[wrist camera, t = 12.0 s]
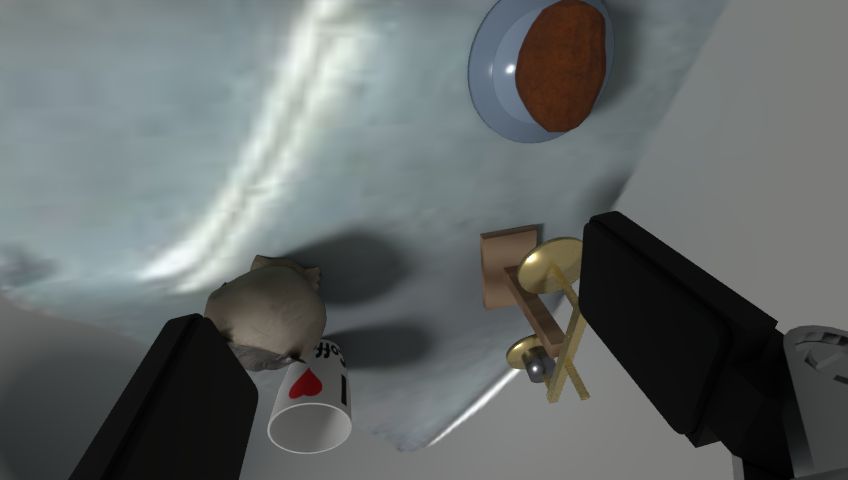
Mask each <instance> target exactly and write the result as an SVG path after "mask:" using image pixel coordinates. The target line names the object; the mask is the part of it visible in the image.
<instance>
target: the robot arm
mask: <svg viewBox="0 0 848 480" xmlns="http://www.w3.org/2000/svg"><path fill="white" fill-rule="evenodd" d="M578 306H579V310H580V312H581V315H582V316H583V318H584V319H585V320H586V321H587V323H588V324H589V325H590V326H591V328H592V329H593V330H594V331H595V332H596V334H597V335H598V336H599V337H600V339H601V340H602V341H603V343H604V344H605V345H606V346H607V348H608V349H609V350H610V351H611V353H612V354H613V355H614V356H615V358H616V359H617V360H618V361H619V363H620V364H621V365H622V366H623V368H624V369H625V370H626V371H627V372H628V374H629V375H630V376H631V378H632V379H633V380H634V381H635V383H636V384H637V385H638V386H639V388H640V389H641V390H642V391H643V392H644V393H645V395H646V396H647V398H648V399H649V400H650V401H651V403H652V404H653V405H654V406H655V407H656V409H657V410H658V411H659V412H660V414H661V415H662V416H663V418H664V419H665V420H666V421H667V423H668V424H669V425H670V426H671V427H672V428H673V430H675V431H676V432H677V433H679V434H685V436H686V437H687V438H688V439H689V441H690V442H691V443H692V444H693V445H694V446H695V448H697V447H701V446H704V445H708V444H711V443H715V442H718V441H721V442H722V443H723V444H724V445H725V446H726V447H727V449H728V450H729V451H730V452H731V454H732V465H733V475H734V480H848V331H844V330H840V329H836V328H833V327H826V326H817V325H816V326H815V325H811V326H799V327H796V328H794V329H791V330H789V331H788V332H787V333H786V335H783V334H782V333H781V332H779V331H778V330H777V329H775V327H776V325H777V323H778V321H777V320H775V319H774V318H772V317H771V316H769V315H768V314H766V313H765V312H764V311H762V310H761V309H759V308H758V307H756V306H755V305H753V304H752V303H750V302H749V301H747V300H746V299H745V298H743V297H741V296H740V295H739V294H737V293H736V292H735V291H733V290H732V289H730V288H729V287H727V286H726V285H724V284H723V283H722V282H720V281H719V280H717V279H716V278H714V277H713V276H711V275H710V274H708V273H707V272H706V271H704V270H703V269H701V268H700V267H698V266H697V265H695V264H694V263H693V262H691V261H690V260H688V259H687V258H685V257H684V256H682V255H681V254H680V253H678V252H676V251H675V250H674V249H672V248H671V247H669V246H668V245H666V244H665V243H664V242H662V241H661V240H659V239H658V238H656V237H655V236H653V235H652V234H651V233H649V232H648V231H646V230H645V229H643V228H642V227H640V226H639V225H638V224H636V223H635V222H633V221H632V220H630V219H629V218H627V217H626V216H624V215H623V214H621V213H620V212H618V211H612V212H607V213H603V214H599V215H595V216H593V217H591V219H590V220H589V223H587V224H585V226H584V231H583V244H582V257H581V271H580V286H579V297H578ZM257 404H258V390H257V387H256V385H255V384H254V382H253V381H252V379H251V378H250V376H249V375H248V374H247V372H246V371H245V369H244V368H243V366H242V365H241V363H240V362H239V360H238V359H237V357H236V356H235V354H234V353H233V351H232V350H231V348H230V347H229V345H228V344H227V342H226V341H225V339H224V338H223V336H222V335H221V333H220V332H219V330H218V329H217V327H216V326H215V324H214V323H213V321H212V320H211V319H210V318H208V317H203V316H202V315H200V314H198V313H194V314H190V315H186V316H182V317H178V318H174V319H171V320H169V321H168V322H167V323H166V324H165V326H164V327H163V329H162V330H161V332H160V334H159V335H158V337H157V338H156V340H155V342H154V343H153V345H152V346H151V348H150V350H149V351H148V353H147V355H146V356H145V358H144V359H143V361H142V362H141V364H140V366H139V367H138V369H137V370H136V372H135V374H134V375H133V377H132V378H131V380H130V382H129V383H128V385H127V387H126V388H125V390H124V391H123V393H122V395H121V396H120V398H119V399H118V401H117V402H116V404H115V406H114V407H113V409H112V410H111V412H110V414H109V415H108V417H107V418H106V420H105V422H104V423H103V425H102V427H101V428H100V430H99V431H98V433H97V435H96V436H95V438H94V439H93V441H92V443H91V444H90V446H89V447H88V449H87V450H86V452H85V454H84V455H83V457H82V458H81V460H80V462H79V463H78V465H77V466H76V468H75V470H74V471H73V473H72V474H71V476H70V478H69V479H68V480H239V476H240V472H241V468H242V464H243V460H244V456H245V452H246V448H247V444H248V440H249V436H250V432H251V427H252V424H253V420H254V416H255V412H256V408H257Z"/></svg>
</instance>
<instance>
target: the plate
mask: <svg viewBox="0 0 848 480" xmlns="http://www.w3.org/2000/svg"><path fill="white" fill-rule="evenodd" d="M559 1H561V0H499V1H498V2H497V3H496V4H495V5H494V6H493V8H492V9H491V10H490V11H489V12H488V14H487V15H486V17H485V18H484V20H483V21H482V23H481V25H480V27H479V29H478V31H477V33H476V35H475V38H474V40H473V43H472V46H471V51H470V55H469V61H468V86H469V91H470V95H471V99H472V102H473V104H474V107H475V109H476V110H477V112H478V114H479V116H480V117H481V118H482V120H483V121H484V122H485V123H486V124H487V125H488V126H489V127H490V128H491V129H492V130H494V131H495V132H496V133H498V134H499V135H501V136H503V137H505V138H507V139H509V140H512V141H515V142H520V143H541V142H545V141H549V140H552V139H554V138H557V137H559V136H561V135H563V134H565V133H567V132H568V131H567V132H547V131H546V130H545V129H544V128H542V127H541V126H540V125H539V124H538V123H537V122H535V121H534V120H533V118H532V117H531V115H530V114H529V112H528V111H527V110H526V108H525V106H524V104H523V102H522V101H521V99H520V97H519V95H518V92H517V89H516V86H515V70H516V64H517V59H518V54H519V50H520V48H521V45H522V43H523V40H524V38H525V36H526V34H527V32H528V30H529V29H530V27H531V25H532V23H533V22H534V21H535V19H536V18H537V17H538V15H539V14H540V13H541V11H542V10H543V9H544V8H546V7H548V6H550V5H552V4H554V3H556V2H559ZM580 1H583V2H586V3H588V4H590V5H592V6H593V7H595V8H597V9H598V10H599V11H600V12H601V13H602V15H603V17H604V18H605V23H606V36H605V50H606V75H605V78H604V82H603V86H602V88H601V90H600V93H599V95H598V97H597V100H596V102H595V104H594V106H595V105H596V103H597V102H598V100H599V99H600V97H601V95H602V93H603V91H604V89H605V87H606V84H607V82H608V79H609V76H610V73H611V69H612V65H613V59H614V48H615V47H614V33H613V26H612V23H611V20H610V16H609V14H608V12H607V10H606V7H605V6H604V4H603V3H602V1H601V0H580ZM594 106H593V108H594ZM593 108H592V109H593ZM569 131H570V130H569Z"/></svg>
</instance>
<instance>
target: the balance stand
mask: <svg viewBox="0 0 848 480" xmlns="http://www.w3.org/2000/svg"><path fill="white" fill-rule="evenodd" d="M536 239H537V229H536V228H535V227H534V226H533V225H529V226H524V227H518V228H513V229H507V230H501V231H496V232H490V233H485V234H480V240H481V262H482V285H483V304H484V306H485V309H486V310H490V309H495V308H500V307H506V306H511V305H516V304H519V306H520V308H521V310H522V311H523V313H524V315H525V316H526V318H527V320H528V321H529V323H530V325H531V326H532V328H533V330H534V332H535V333H536V335H537V337H538V338H539V340H540V342H541V343H542V345H543V347H544V348H545V350H546V352H547V353H548V355H549V357H550V358H554V357H558V356H559V353H560V350H561V347H562V344H563V341H564V337H565V334H564V333H563V332H562V330H561V329H560V327H559V326H558V324H557V323H556V321H555V320H554V318H553V317H552V316H551V314H550V313H549V311H548V310H547V308H546V307H545V305H544V304H543V302H542V301H541V300H540V298H539V297H538V295H537V294H536V293H531V292H528V291H526V290H525V289H524V288H523V287H522V286H521V285H520V283H519V281H518V278H517V269H518V266H519V264H520V262H521V260H522V259H523V258H524V257H525V255H526V254H527V253H528V252H530V251H531V250H532V249H533V248H535V247H536Z"/></svg>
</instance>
